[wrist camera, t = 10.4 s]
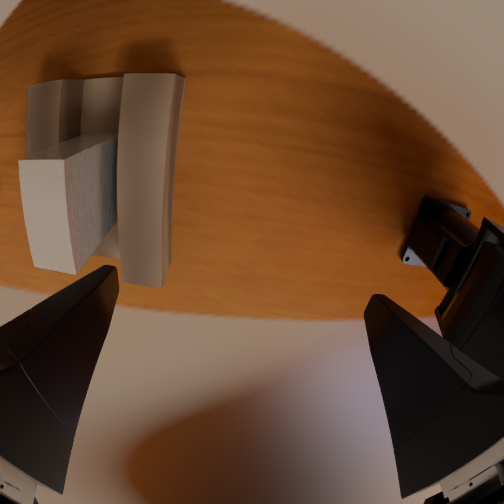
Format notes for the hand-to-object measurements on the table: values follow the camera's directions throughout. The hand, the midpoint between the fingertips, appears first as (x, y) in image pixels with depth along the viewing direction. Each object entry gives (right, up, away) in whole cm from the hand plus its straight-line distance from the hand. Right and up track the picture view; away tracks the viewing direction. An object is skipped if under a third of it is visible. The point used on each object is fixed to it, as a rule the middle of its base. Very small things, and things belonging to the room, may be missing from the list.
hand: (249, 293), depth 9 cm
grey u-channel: (-10, +7, +9) cm, 16 cm away
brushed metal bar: (-10, +7, +9) cm, 15 cm away
